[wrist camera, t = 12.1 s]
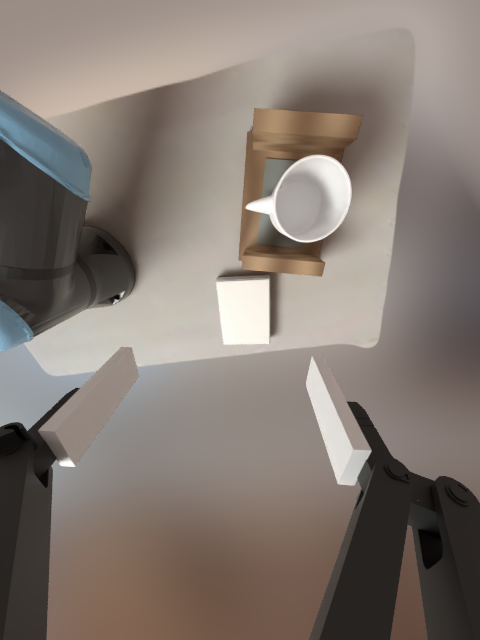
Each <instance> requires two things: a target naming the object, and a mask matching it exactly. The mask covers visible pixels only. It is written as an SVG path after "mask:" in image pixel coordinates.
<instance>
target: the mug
mask: <svg viewBox="0 0 480 640" xmlns="http://www.w3.org/2000/svg"><path fill="white" fill-rule="evenodd" d="M351 197H352V187H351V181H350V177H349V175H348V173H347V171H346V169H345V168H344V167H343V165H342V164H341V163H340V162H339V161H337V160H336V159H334V158H332V157H330V156H326V155H310V156H307V157H304V158H302V159H300V160H298V161H297V162H295V163H294V164H293V165H291V166H290V167H289V168H288V169H287V170H286V172H285V173H284V174H283V176H282V177H281V179H280V181H279V182H278V184H277V185H276V187H275V189H274V190H273V192H272V195H271V196H268V197H265V198H262V199H258V200H256V201H253V202H251V203H249V204H247V205H246V209H248V210H251V211H255V212H260V213H265V214H268V215H270V219H271V222H272V224H273V226H274V227H275V228H276V229H277V230H278V231H279V232H280V233H282V234H284V235H285V236H287V237H289V238H291V239H293V240H295V241H299V242H314V241H318V240H321V239H323V238H325V237H327V236H328V235H330V234H331V233H332V232H334V231H335V230H336V229H337V228H338V227H339V225H340V224H341V223H342V221H343V220H344V218H345V216H346V214H347V212H348V210H349V207H350V203H351Z"/></svg>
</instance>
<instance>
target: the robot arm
mask: <svg viewBox="0 0 480 640" xmlns="http://www.w3.org/2000/svg"><path fill="white" fill-rule="evenodd" d="M91 173H92V167H91V162H90V160H89V158H88V156H87V154H86V153H85V151H84V150H83V149H82V148H81V147H80V146H79V145H78V144H77V143H76V142H74V141H73V140H72V139H71V138H69V137H68V136H67V135H65V134H64V133H62V132H61V131H60V130H58V129H57V128H55V127H54V126H53V125H51V124H50V123H48V122H47V121H45V120H44V119H42V118H41V117H39V116H38V115H36V114H35V113H33V112H32V111H31V110H29V109H28V108H26V107H24V106H23V105H22V104H20V103H19V102H17V101H16V100H14V99H13V98H11V97H10V96H8V95H7V94H5V93H4V92H2V91H1V90H0V352H3V351H5V350H8V349H10V348H12V347H15V346H17V345H20V344H22V343H24V342H29V341H31V340H32V339H33V337H35V336H37V335H39V334H41V333H43V332H44V331H46V330H48V329H50V328H52V327H54V326H56V325H57V324H59V323H61V322H63V321H65V320H67V319H69V318H71V317H72V316H74V315H76V314H78V313H80V312H81V311H83V310H85V309H90V308H99V307H107V306H111V305H114V304H116V303H118V302H120V301H122V300H123V299H125V298H126V297H127V296H128V295H129V294H130V292H131V291H132V289H133V286H134V281H135V273H134V267H133V264H132V261H131V259H130V257H129V255H128V253H127V252H126V250H125V249H124V247H123V246H122V245H121V244H120V243H119V242H118V241H117V240H116V239H115V238H114V237H113V236H111V235H110V234H108V233H107V232H105V231H103V230H101V229H98V228H95V227H91V226H83V224H84V219H85V214H86V209H87V204H88V202H90V196H89V188H90V180H91ZM138 377H139V374H138V370H137V366H136V362H135V358H134V355H133V351H132V347H121V348H120V349H119V350H118V351H117V352H116V353H115V354H114V355H113V356H112V357H111V358H110V359H109V360H108V361H107V362H106V363H105V364H104V365H103V366H102V367H101V368H100V369H99V370H98V371H97V372H96V373H95V374H94V375H93V376H92V377H91V378H90V379H89V380H88V381H87V382H86V383H85V384H84V385H83V386H82V387H81V388H75V389H74V390H72V391H70V392H69V393H67V394H66V395H65V396H64V397H63V398H62V399H61V400H60V401H59V402H58V403H56V404H55V405H54V406H53V407H52V409H51V410H49V411H48V412H47V413H46V414H45V415H44V416H43V417H42V418H41V419H40V420H39V421H38V422H37V423H36V424H35V425H33V426H32V427H31V428H30V429H29V430H28V431H27V430H26V429H25V428H24V426H23V424H21V423H19V422H18V423H17V422H16V423H10V424H7V425H4V426H2V427H0V640H46V634H47V609H48V606H47V605H48V583H49V557H50V556H49V555H50V530H51V504H52V502H51V501H52V478H53V469H52V467H51V465H52V464H53V463H54V461H55V460H56V459H57V461H58V462H59V464H60V465H61V466H70V467H76V465H77V464H78V462H79V461H80V460H81V458H82V457H83V455H84V454H85V452H86V451H87V450H88V448H89V447H90V445H91V444H92V443H93V441H94V440H95V438H96V437H97V435H98V434H99V433H100V431H101V430H102V428H103V427H104V426H105V424H106V423H107V421H108V420H109V418H110V417H111V415H112V414H113V413H114V411H115V410H116V408H117V407H118V406H119V404H120V403H121V401H122V400H123V399H124V397H125V396H126V394H127V393H128V391H129V390H130V389H131V387H132V386H133V384H134V383H135V382H136V380H137V378H138ZM306 386H307V390H308V393H309V396H310V399H311V402H312V405H313V408H314V411H315V414H316V418H317V421H318V424H319V427H320V430H321V433H322V436H323V439H324V442H325V445H326V448H327V451H328V455H329V457H330V461H331V464H332V467H333V470H334V473H335V476H336V479H337V482H338V484H341V485H355V483H356V481H357V479H358V481H359V483H360V486H361V488H362V489H361V490H360V492H359V494H358V496H357V498H356V500H357V502H356V505H355V507H354V510H353V513H352V516H351V519H350V522H349V525H348V528H347V531H346V533H345V536H344V539H343V542H342V545H341V548H340V551H339V554H338V557H337V560H336V563H335V565H334V568H333V571H332V574H331V577H330V580H329V583H328V586H327V588H326V591H325V594H324V597H323V600H322V603H321V606H320V609H319V612H318V614H317V617H316V620H315V623H314V626H313V629H312V632H311V635H310V638H309V640H390V635H391V629H392V623H393V616H394V609H395V603H396V596H397V590H398V583H399V577H400V570H401V564H402V557H403V551H404V544H405V537H406V530H407V524H408V525H410V526H412V530H413V537H414V544H415V551H416V558H417V565H418V572H419V580H420V587H421V594H422V600H423V608H424V615H425V623H426V630H427V637H428V640H480V503H479V502H478V500H477V498H476V497H475V496H474V495H473V493H472V492H471V491H470V490H469V489H468V488H466V487H465V486H464V485H463V484H461V483H460V482H458V481H456V480H454V479H453V478H450V477H446V476H439V477H438V478H437V479H436V480H435V481H433V480H430V479H428V478H425V477H422V476H420V475H417V474H414V473H412V472H410V471H409V470H408V469H407V468H406V467H405V466H404V465H403V464H402V463H401V462H399V461H398V460H397V459H394V458H393V457H392V455H391V454H390V452H389V451H388V449H387V447H386V445H385V444H384V442H383V440H382V438H381V437H380V435H379V433H378V432H377V430H376V428H375V427H374V425H373V423H372V421H371V420H370V418H369V416H368V415H367V413H366V411H365V410H364V409H363V408H362V407H361V406H360V405H359V404H358V403H357V402H346V400H345V398H344V396H343V394H342V392H341V390H340V388H339V386H338V384H337V382H336V380H335V379H334V376H333V375H332V372H331V371H330V369H329V367H328V365H327V363H326V361H325V359H324V357H323V356H313V355H312V359H311V363H310V368H309V372H308V377H307V381H306Z"/></svg>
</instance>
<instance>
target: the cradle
mask: <svg viewBox="0 0 480 640" xmlns="http://www.w3.org/2000/svg"><path fill="white" fill-rule="evenodd" d="M362 116H363V115H349V114H334V113H319V112H305V111H290V110H275V109H260V108H254V119H253V132H249V131H248V132H247V147H246V161H245V175H244V190H243V204H242V219H241V233H240V248H239V260H240V261H242V269H244V270H255V271H266V272H278V273H289V274H300V275H311V276H322V274H323V270H324V266H325V262H323V261H322V260H320V259H318V258H319V253H320V249H321V245H322V241H323V239H321V240H318V241H314V242H299V241H295V240H293V239H291V238H289V237H287V236H285V235H284V234H282V233H280V232H279V231H278V230H277V229H276V228H275V227H274V226H273V224H272V222H271V219H270V215H268V214H265V213H260V212H255V211H251V210H248V209H246V205H247V204H249V203H251V202H253V201H256V200H258V199H262V198H265V197H268V196H271V195H272V192H273V190H274V189H275V187H276V185H277V184H278V182H279V181H280V179H281V177H282V176H283V174H284V173H285V172H286V170H287V169H288V168H289V167H290V166H291V165H293V164H294V163H295V162H297V161H298V160H300V159H302V158H304V157H307V156H310V155H326V156H330V157H332V158H334V159H336V160H337V161H339V162H340V163H341V160H342V156H343V152H344V148H346V147H347V146H348V145H350V144H351V143H352V142H353V141H355V140H356V139H357V136H358V132H359V128H360V124H361V120H362Z"/></svg>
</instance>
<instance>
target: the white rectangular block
mask: <svg viewBox="0 0 480 640" xmlns="http://www.w3.org/2000/svg"><path fill="white" fill-rule="evenodd" d="M216 288H217V297H218V305H219V313H220V322H221V330H222V339H223V345H229V344H270V275H253V276H233V277H218V278H217V279H216Z"/></svg>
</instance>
